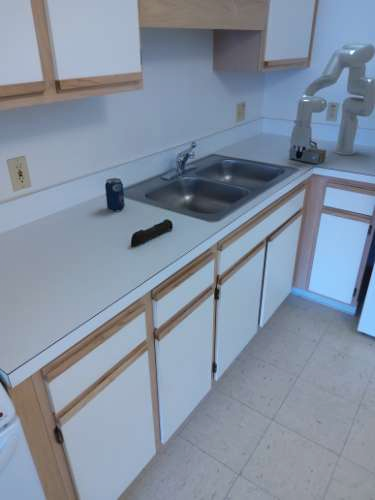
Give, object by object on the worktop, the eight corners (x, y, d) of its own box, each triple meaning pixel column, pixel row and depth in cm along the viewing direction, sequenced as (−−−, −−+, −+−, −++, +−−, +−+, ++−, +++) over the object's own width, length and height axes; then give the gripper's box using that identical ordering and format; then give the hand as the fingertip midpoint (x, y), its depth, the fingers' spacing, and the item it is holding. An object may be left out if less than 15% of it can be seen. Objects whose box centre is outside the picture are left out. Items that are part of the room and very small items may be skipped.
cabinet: (296, 155, 229) (297, 145, 226) (324, 160, 220) (326, 150, 217) (290, 158, 223) (291, 148, 220) (319, 164, 214) (321, 152, 211)
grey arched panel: (318, 153, 233) (319, 138, 226) (315, 157, 231) (316, 143, 224) (292, 149, 242) (292, 134, 235) (289, 153, 240) (289, 138, 233)
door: (289, 157, 223) (290, 148, 220) (317, 163, 213) (319, 153, 210) (287, 158, 221) (288, 149, 219) (315, 164, 211) (317, 154, 209)
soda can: (125, 211, 155) (123, 182, 149) (107, 212, 154) (104, 184, 148) (124, 205, 161) (122, 177, 155) (107, 206, 160) (104, 178, 154)
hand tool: (165, 227, 143) (165, 215, 141) (173, 230, 141) (173, 218, 139) (126, 245, 131) (125, 233, 129) (134, 249, 128) (133, 236, 126)
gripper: (286, 123, 205) (283, 157, 214) (314, 126, 197) (309, 162, 206) (292, 120, 210) (288, 154, 219) (319, 124, 202) (314, 158, 211)
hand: (298, 158), depth 212 cm, fingers closed
